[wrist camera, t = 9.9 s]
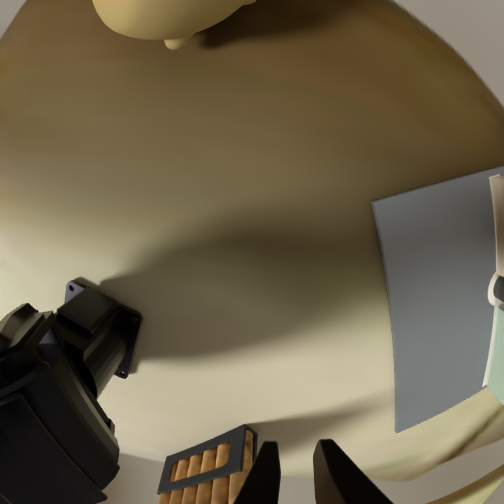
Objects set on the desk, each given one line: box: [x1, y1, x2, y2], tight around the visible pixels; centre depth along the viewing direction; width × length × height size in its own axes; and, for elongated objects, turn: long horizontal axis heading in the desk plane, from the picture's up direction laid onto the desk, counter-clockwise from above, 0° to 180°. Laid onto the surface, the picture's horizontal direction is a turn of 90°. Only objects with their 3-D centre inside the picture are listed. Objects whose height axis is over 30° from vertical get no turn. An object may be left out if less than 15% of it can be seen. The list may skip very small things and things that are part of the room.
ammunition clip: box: [157, 424, 258, 504], centre depth 17 cm, size 11×2×12 cm, turn 129°
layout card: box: [371, 166, 504, 433], centre depth 19 cm, size 22×14×1 cm, turn 17°
